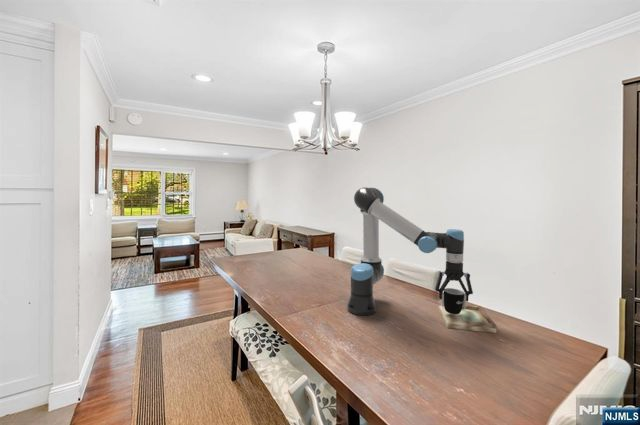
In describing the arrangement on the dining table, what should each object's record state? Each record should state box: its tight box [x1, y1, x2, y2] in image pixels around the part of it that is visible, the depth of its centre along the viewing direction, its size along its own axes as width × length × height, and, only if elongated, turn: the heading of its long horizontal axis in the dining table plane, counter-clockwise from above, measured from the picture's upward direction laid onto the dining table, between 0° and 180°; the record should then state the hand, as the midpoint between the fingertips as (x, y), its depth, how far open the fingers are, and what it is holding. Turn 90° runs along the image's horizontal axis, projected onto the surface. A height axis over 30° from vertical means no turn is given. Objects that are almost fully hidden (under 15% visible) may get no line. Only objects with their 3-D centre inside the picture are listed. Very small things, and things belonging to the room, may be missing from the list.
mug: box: [443, 287, 465, 314], centre depth 133 cm, size 12×9×10 cm
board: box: [438, 304, 498, 334], centre depth 132 cm, size 20×21×4 cm
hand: (453, 306), depth 133 cm, fingers closed on mug, 9 cm apart
